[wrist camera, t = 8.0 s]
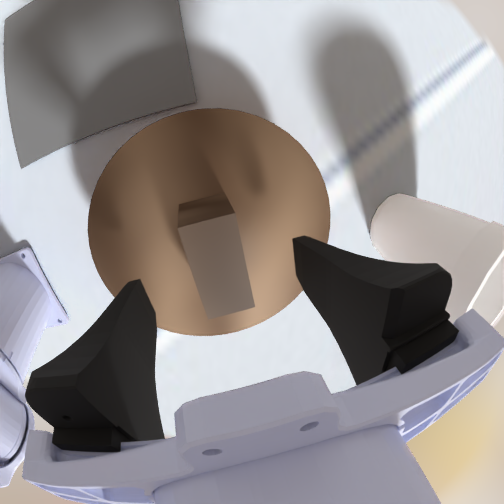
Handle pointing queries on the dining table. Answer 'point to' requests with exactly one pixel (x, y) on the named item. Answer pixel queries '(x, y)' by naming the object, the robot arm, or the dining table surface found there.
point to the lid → (207, 219)
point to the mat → (90, 68)
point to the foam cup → (446, 250)
